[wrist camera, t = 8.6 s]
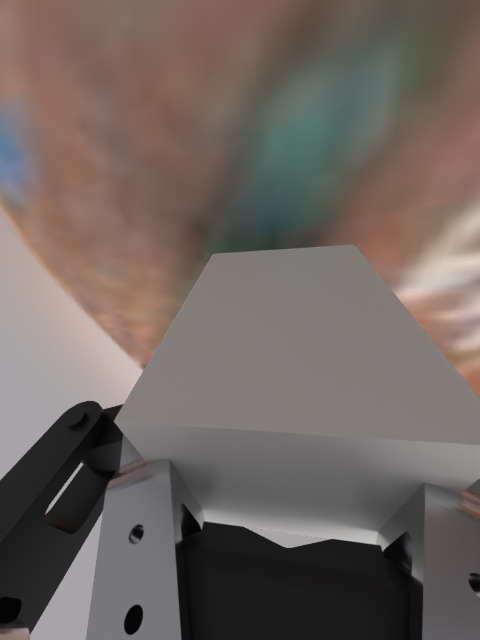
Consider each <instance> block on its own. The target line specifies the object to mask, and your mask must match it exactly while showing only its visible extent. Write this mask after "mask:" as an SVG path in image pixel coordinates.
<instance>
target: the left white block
mask: <svg viewBox="0 0 480 640" xmlns="http://www.w3.org/2000/svg"><path fill="white" fill-rule="evenodd" d="M114 422H115V424H116V425H117V426H118V427H119V429H120V430H121V431H122V432H123V434H124V435H125V436H126V437H127V439H128V440H129V441H130V442H131V444H132V445H133V446H134V447H135V449H136V450H137V451H138V452H139V454H140V455H141V456H142V457H143V458H144V460H145V461H146V462H147V463H151V462H154V461H157V460H164V459H170V460H171V462H172V463H173V465H174V466H175V468H176V469H177V471H178V473H179V474H180V476H181V477H182V479H183V480H184V482H185V483H186V485H187V486H188V488H189V489H190V491H191V492H192V494H193V495H194V497H195V499H196V500H197V502H198V503H199V505H200V506H201V508H202V510H203V514H204V520H205V521H206V522H213V523H220V524H228V525H235V526H242V527H248V528H255V529H263V530H270V531H277V532H284V533H292V534H299V535H306V536H314V537H321V538H328V539H338V540H345V541H353V542H360V543H367V544H375V545H376V540H377V535H378V531H379V530H380V529H381V528H382V527H383V526H384V525H385V524H386V523H387V522H388V520H389V519H390V518H391V517H392V516H393V515H394V514H395V513H396V512H397V511H398V510H399V509H400V507H401V506H402V505H403V504H404V503H405V502H406V501H407V500H408V499H409V498H410V497H411V496H412V495H413V493H414V492H415V491H416V490H417V489H418V488H419V487H420V486H421V485H422V484H423V483H429V484H433V485H437V486H440V487H443V488H446V489H448V490H450V491H452V492H454V493H457V494H461V493H462V492H463V491H464V490H466V489H467V488H468V487H469V486H471V485H472V484H473V483H474V482H476V481H477V480H478V479H480V399H479V398H478V397H477V396H476V394H475V393H474V392H473V391H472V389H471V388H470V387H469V386H468V384H467V383H466V382H465V381H464V379H463V378H462V377H461V376H460V374H459V373H458V372H457V371H456V370H455V368H454V367H453V366H452V365H451V363H450V362H449V361H448V360H447V358H446V357H445V356H444V355H443V353H442V352H441V351H440V350H439V348H438V347H437V346H436V345H435V343H434V342H433V341H432V340H431V339H430V337H429V336H428V335H427V334H426V332H425V331H424V330H423V329H422V327H421V326H420V325H419V324H418V322H417V321H416V320H415V319H414V317H413V316H412V315H411V314H410V312H409V311H408V310H407V309H406V307H405V306H404V305H403V304H402V303H401V301H400V300H399V299H398V298H397V296H396V295H395V294H394V293H393V291H392V290H391V289H390V288H389V286H388V285H387V284H386V283H385V281H384V280H383V279H382V278H381V276H380V275H379V274H378V273H377V272H376V270H375V269H374V268H373V267H372V265H371V264H370V263H369V262H368V260H367V259H366V258H365V257H364V255H363V254H362V253H361V252H360V250H359V249H358V248H357V247H356V245H355V244H354V245H339V246H323V247H308V248H293V249H278V250H263V251H247V252H232V253H217V254H212V256H211V258H210V259H209V261H208V263H207V265H206V266H205V268H204V270H203V271H202V273H201V275H200V276H199V278H198V280H197V281H196V283H195V285H194V286H193V288H192V290H191V292H190V293H189V295H188V297H187V298H186V300H185V302H184V303H183V305H182V307H181V308H180V310H179V312H178V313H177V315H176V317H175V319H174V320H173V322H172V324H171V325H170V327H169V329H168V330H167V332H166V334H165V335H164V337H163V339H162V341H161V342H160V344H159V346H158V347H157V349H156V351H155V352H154V354H153V356H152V357H151V359H150V361H149V362H148V364H147V366H146V368H145V369H144V371H143V373H142V374H141V376H140V378H139V379H138V381H137V383H136V384H135V386H134V388H133V389H132V391H131V393H130V395H129V396H128V398H127V400H126V401H125V403H124V405H123V406H122V408H121V410H120V411H119V413H118V415H117V416H116V418H115V420H114Z"/></svg>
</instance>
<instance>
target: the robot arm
mask: <svg viewBox="0 0 480 640" xmlns="http://www.w3.org/2000/svg"><path fill="white" fill-rule="evenodd" d="M123 405H124V404H123ZM123 405H119V406H115V407H111V408H107V409H102V407H101V406H100V405H99V404H98V403H97V402H94V401H86V402H82V403H79V404H77V405H75V406H73V407H72V408H70V409H69V410H67V411H66V412H65V413H64V414H63V415H62V416H61V417H60V418H59V419H58V420H57V421H56V422H55V423H54V424H53V425H52V426H51V427H50V428H49V429H48V431H47V432H46V433H45V434H44V435H43V436H42V437H41V438H40V439H39V440H38V441H37V442H36V443H35V444H34V445H33V446H32V447H31V449H30V450H29V451H28V452H27V453H26V454H25V455H24V456H23V457H22V458H21V459H20V460H19V461H18V462H17V463H16V465H15V466H14V467H13V468H12V469H11V470H10V471H9V472H8V473H7V474H6V475H5V476H4V477H3V478H2V479H1V480H0V640H30V634H31V632H32V630H33V629H34V627H35V625H36V624H37V622H38V620H39V618H40V617H41V615H42V613H43V612H44V610H45V608H46V607H47V605H48V603H49V601H50V600H51V598H52V596H53V595H54V593H55V591H56V589H57V588H58V586H59V584H60V583H61V581H62V579H63V578H64V576H65V574H66V572H67V571H68V569H69V567H70V566H71V564H72V562H73V561H74V559H75V557H76V555H77V554H78V552H79V550H80V549H81V547H82V545H83V543H84V542H85V540H86V538H87V537H88V535H89V533H90V532H91V530H92V528H93V526H94V525H95V523H96V521H97V520H98V518H99V516H100V514H101V513H102V511H103V515H102V522H101V530H100V538H99V545H98V554H97V560H96V568H95V576H94V583H93V591H92V599H91V606H90V614H89V621H88V629H87V636H86V640H480V479H478V480H477V481H476V482H474V483H473V484H472V485H471V486H469V487H468V488H467V489H466V490H464V491H463V492H462V493H461V494H457V493H454V492H452V491H450V490H448V489H446V488H443V487H440V486H437V485H433V484H429V483H423V484H422V485H421V486H420V487H419V488H418V489H417V490H416V491H415V492H414V493H413V495H412V496H411V497H410V498H409V499H408V500H407V501H406V502H405V503H404V504H403V505H402V506H401V507H400V509H399V510H398V511H397V512H396V513H395V514H394V515H393V516H392V517H391V518H390V519H389V520H388V522H387V523H386V524H385V525H384V526H383V527H382V528H381V529H380V530H379V531H378V535H377V540H376V545H375V544H367V543H360V542H353V541H345V540H338V539H330V540H326V541H321V542H316V543H312V544H308V545H303V546H298V547H294V548H285V547H282V546H280V545H278V544H276V543H274V542H272V541H270V540H268V539H266V538H265V537H263V536H260V535H258V534H257V533H254V532H253V531H250V530H249V529H246V528H245V527H242V526H235V525H228V524H220V523H213V522H206V521H205V520H204V514H203V510H202V508H201V506H200V505H199V503H198V502H197V500H196V499H195V497H194V495H193V494H192V492H191V491H190V489H189V488H188V486H187V485H186V483H185V482H184V480H183V479H182V477H181V476H180V474H179V473H178V471H177V469H176V468H175V466H174V465H173V463H172V462H171V460H170V459H164V460H157V461H154V462H151V463H147V462H146V461H145V460H144V458H143V457H142V456H141V455H140V454H139V452H138V451H137V450H136V449H135V447H134V446H133V445H132V444H131V442H130V441H129V440H128V439H127V437H126V436H125V435H124V434H123V432H122V431H121V430H120V429H119V427H118V426H117V425H116V424H115V422H114V420H115V418H116V416H117V415H118V413H119V411H120V410H121V408H122V406H123ZM80 463H83V466H82V467H81V469H80V470H79V471H78V473H77V474H76V475H75V477H74V478H73V480H72V481H71V482H70V484H69V485H68V486H67V488H66V489H65V491H64V492H63V493H62V495H61V496H60V498H59V499H58V500H57V501H56V503H55V504H54V506H53V507H52V508H51V510H50V511H49V512H48V513H47V514H46V515H45V513H46V510H47V508H48V507H49V504H50V503H51V502H52V500H53V499H54V498H55V496H56V495H57V494H58V492H59V491H60V490H61V488H62V487H63V486H64V484H65V483H66V482H67V480H68V479H69V478H70V476H71V475H72V474H73V472H74V471H75V470H76V468H77V467H78V465H79V464H80Z"/></svg>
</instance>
